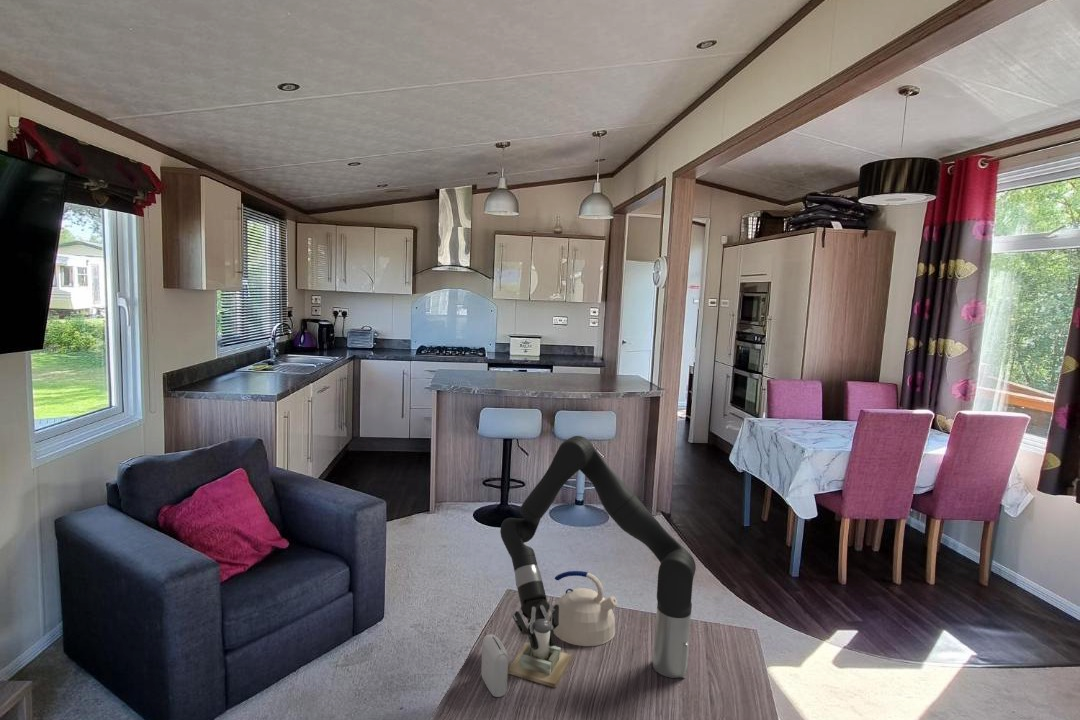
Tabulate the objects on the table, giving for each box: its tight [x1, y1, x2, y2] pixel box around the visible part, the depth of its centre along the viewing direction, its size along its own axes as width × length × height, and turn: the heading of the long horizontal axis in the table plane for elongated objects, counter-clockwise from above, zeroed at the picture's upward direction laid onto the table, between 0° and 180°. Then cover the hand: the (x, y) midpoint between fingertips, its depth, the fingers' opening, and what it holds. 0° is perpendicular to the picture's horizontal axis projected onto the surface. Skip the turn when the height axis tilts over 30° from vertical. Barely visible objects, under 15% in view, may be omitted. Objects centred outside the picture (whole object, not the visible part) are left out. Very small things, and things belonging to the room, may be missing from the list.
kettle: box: [550, 570, 618, 647], centre depth 180 cm, size 20×21×18 cm
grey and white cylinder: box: [533, 619, 551, 661], centre depth 161 cm, size 4×4×10 cm
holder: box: [507, 642, 573, 689], centre depth 161 cm, size 14×14×4 cm
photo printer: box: [480, 633, 509, 698], centre depth 152 cm, size 10×4×12 cm, turn 26°
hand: (544, 647), depth 159 cm, fingers closed on grey and white cylinder, 4 cm apart
